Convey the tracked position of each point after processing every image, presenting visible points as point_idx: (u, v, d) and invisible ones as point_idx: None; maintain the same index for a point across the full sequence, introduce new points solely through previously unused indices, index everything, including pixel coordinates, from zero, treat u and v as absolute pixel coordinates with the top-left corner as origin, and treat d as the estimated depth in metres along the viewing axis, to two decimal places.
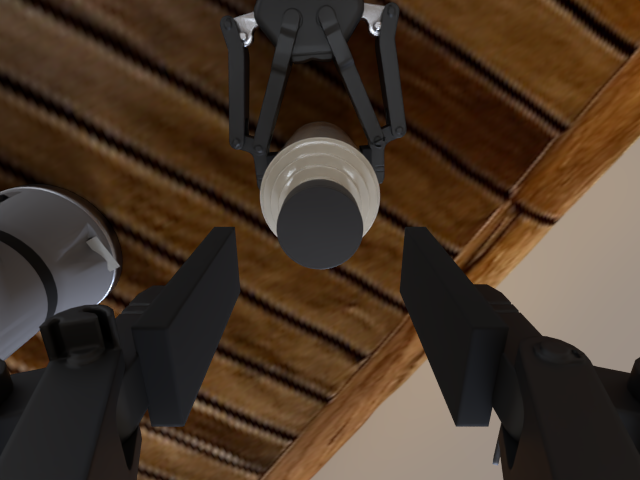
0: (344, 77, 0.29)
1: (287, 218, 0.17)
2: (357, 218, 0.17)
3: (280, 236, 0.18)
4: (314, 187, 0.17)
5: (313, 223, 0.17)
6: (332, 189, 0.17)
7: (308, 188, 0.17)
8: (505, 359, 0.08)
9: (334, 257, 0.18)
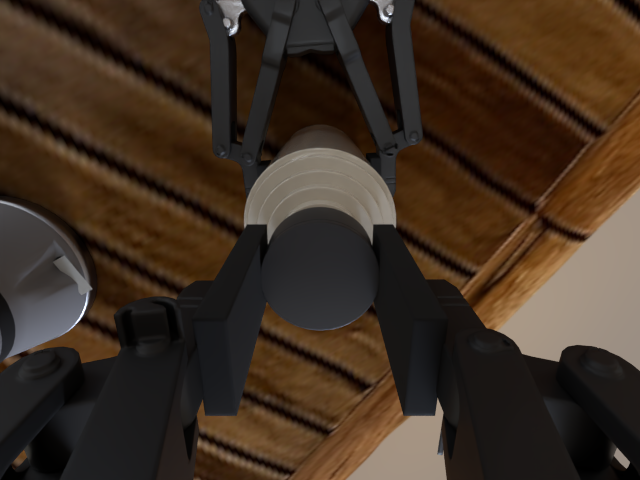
0: (349, 72, 0.25)
1: (275, 264, 0.12)
2: (372, 264, 0.12)
3: (265, 288, 0.13)
4: (312, 222, 0.12)
5: (311, 270, 0.13)
6: (337, 225, 0.12)
7: (304, 223, 0.12)
8: (445, 349, 0.08)
9: (340, 315, 0.13)
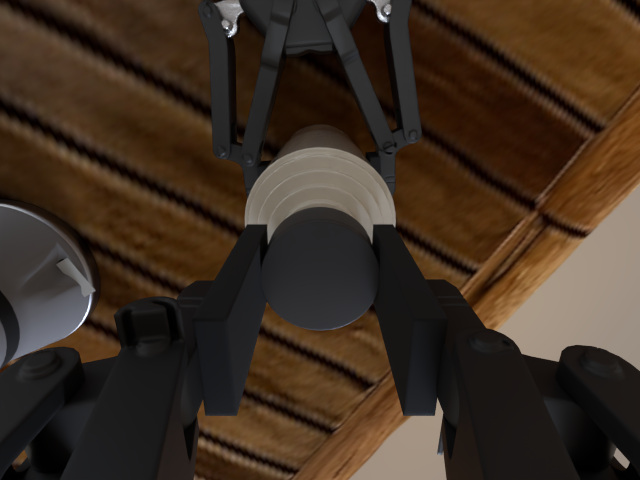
0: (347, 72, 0.25)
1: (333, 318, 0.13)
2: (274, 251, 0.12)
3: (360, 311, 0.13)
4: (279, 315, 0.13)
5: (318, 290, 0.13)
6: (266, 297, 0.13)
7: (286, 318, 0.13)
8: (444, 349, 0.08)
9: (341, 240, 0.12)
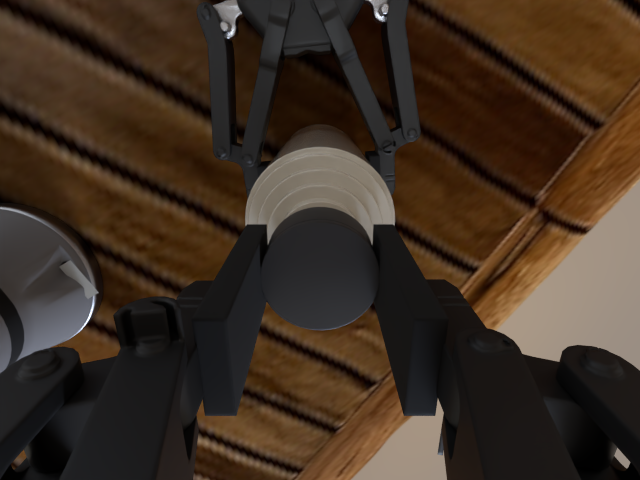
0: (346, 72, 0.25)
1: (347, 243, 0.12)
2: (323, 325, 0.13)
3: (323, 226, 0.12)
4: (378, 285, 0.13)
5: (331, 273, 0.13)
6: (369, 304, 0.13)
7: None
8: (445, 350, 0.08)
9: (275, 288, 0.13)
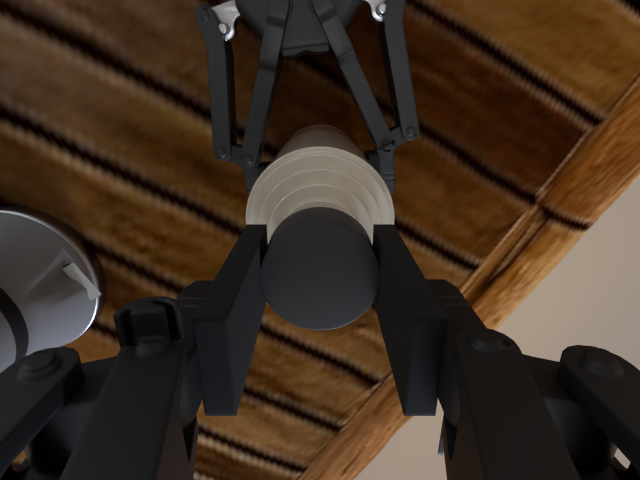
0: (344, 72, 0.25)
1: (273, 282, 0.13)
2: (361, 245, 0.12)
3: (275, 306, 0.13)
4: (287, 230, 0.12)
5: (308, 274, 0.13)
6: (311, 223, 0.12)
7: (281, 235, 0.12)
8: (445, 349, 0.08)
9: (355, 305, 0.13)
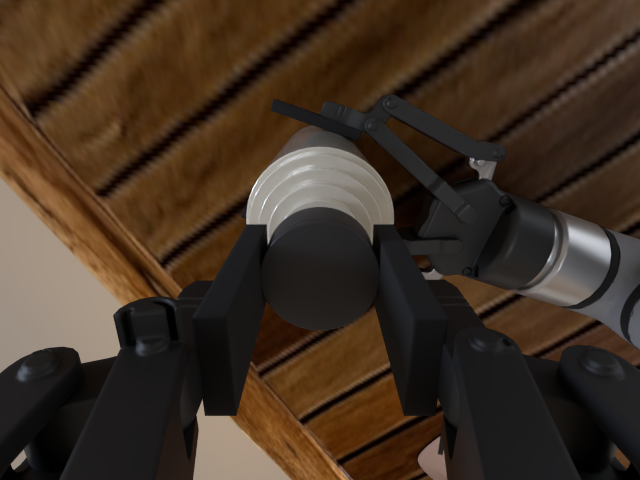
0: None
1: (272, 281, 0.13)
2: (361, 246, 0.12)
3: (275, 306, 0.13)
4: (288, 230, 0.12)
5: (308, 274, 0.13)
6: (312, 223, 0.12)
7: (281, 234, 0.12)
8: (445, 350, 0.08)
9: (354, 305, 0.13)
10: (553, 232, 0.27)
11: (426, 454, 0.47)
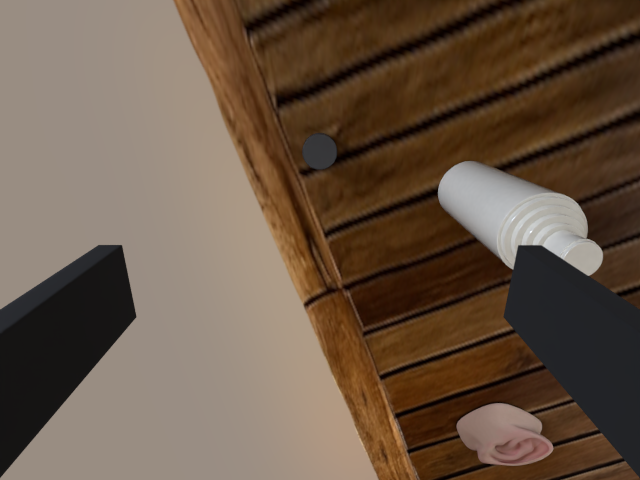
0: None
1: (306, 153, 0.44)
2: (331, 141, 0.44)
3: (306, 161, 0.45)
4: (310, 137, 0.44)
5: (316, 150, 0.44)
6: (317, 134, 0.44)
7: (308, 138, 0.44)
8: None
9: (330, 160, 0.45)
10: None
11: (465, 420, 0.60)
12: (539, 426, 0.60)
